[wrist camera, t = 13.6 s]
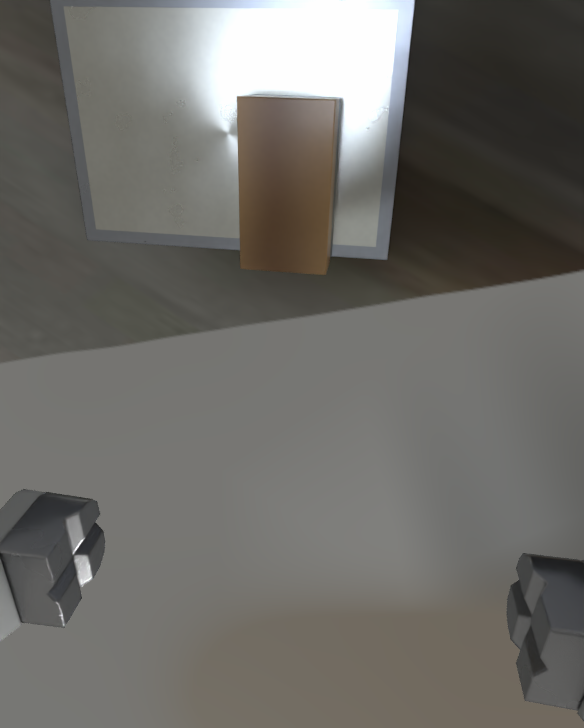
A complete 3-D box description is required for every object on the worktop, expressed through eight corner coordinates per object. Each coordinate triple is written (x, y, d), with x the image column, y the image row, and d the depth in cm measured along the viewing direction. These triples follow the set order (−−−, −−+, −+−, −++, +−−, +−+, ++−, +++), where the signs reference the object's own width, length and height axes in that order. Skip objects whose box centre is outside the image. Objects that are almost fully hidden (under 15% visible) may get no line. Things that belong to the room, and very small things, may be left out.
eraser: (341, 97, 30) (335, 99, 27) (331, 255, 34) (325, 275, 31) (253, 94, 31) (236, 95, 27) (254, 250, 35) (240, 269, 31)
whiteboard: (415, -7, 28) (416, -9, 27) (387, 255, 35) (387, 260, 34) (57, -9, 31) (47, -12, 30) (93, 236, 37) (86, 240, 36)
